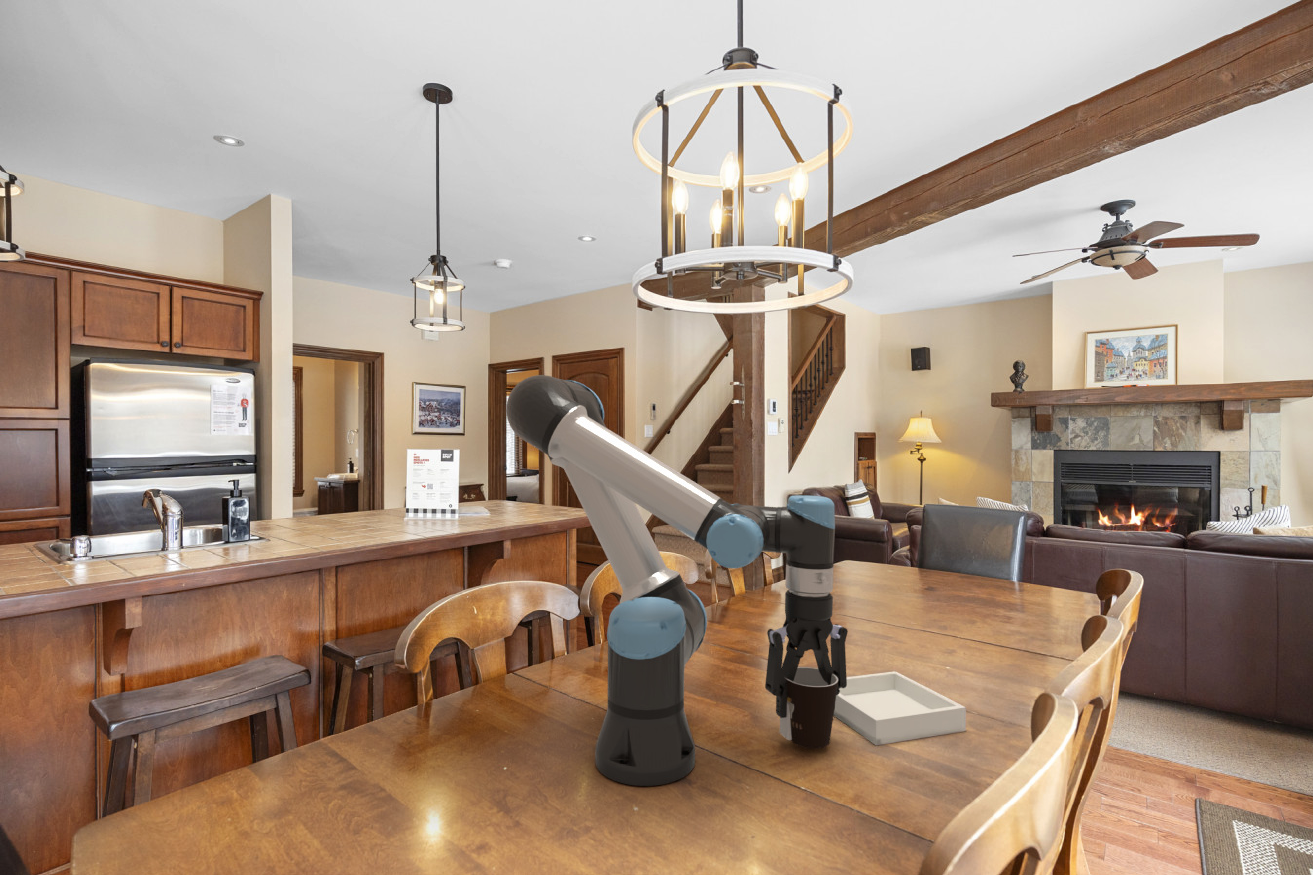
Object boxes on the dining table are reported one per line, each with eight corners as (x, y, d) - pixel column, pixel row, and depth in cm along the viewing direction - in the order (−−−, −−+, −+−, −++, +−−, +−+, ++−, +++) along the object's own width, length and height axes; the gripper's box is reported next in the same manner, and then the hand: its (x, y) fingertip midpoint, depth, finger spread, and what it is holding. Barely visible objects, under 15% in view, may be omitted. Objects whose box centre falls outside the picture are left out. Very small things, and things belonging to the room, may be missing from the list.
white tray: (876, 745, 104) (876, 720, 104) (815, 702, 121) (815, 680, 121) (965, 730, 109) (965, 707, 109) (895, 691, 126) (895, 671, 127)
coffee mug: (838, 754, 98) (840, 689, 98) (781, 748, 100) (782, 683, 100) (834, 722, 110) (835, 663, 110) (782, 716, 111) (783, 659, 112)
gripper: (766, 600, 98) (762, 751, 98) (873, 594, 104) (869, 737, 104) (744, 588, 105) (740, 730, 105) (846, 583, 111) (842, 717, 111)
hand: (805, 733), depth 105 cm, fingers closed on coffee mug, 6 cm apart
